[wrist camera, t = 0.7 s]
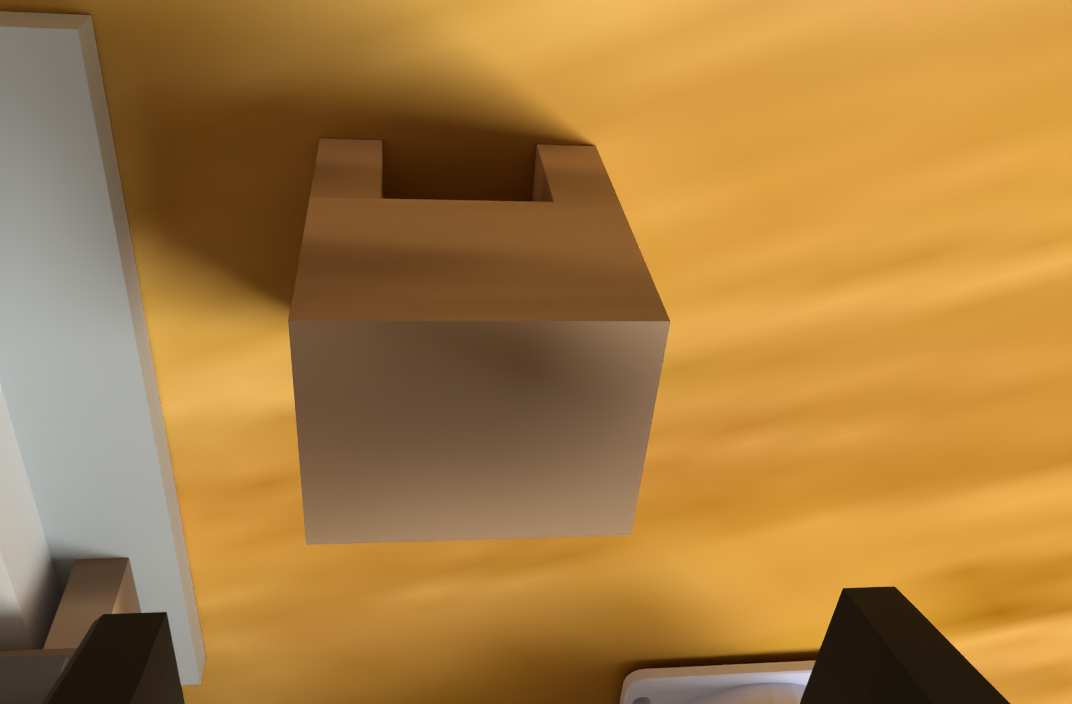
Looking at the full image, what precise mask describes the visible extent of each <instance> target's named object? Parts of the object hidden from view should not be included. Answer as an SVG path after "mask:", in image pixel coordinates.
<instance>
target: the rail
mask: <svg viewBox="0 0 1072 704" xmlns="http://www.w3.org/2000/svg"><path fill="white" fill-rule="evenodd" d="M100 558H129V560H130V564H131V569H132V573H133V577H134V582H135V586H136V591H137V595H138V600H139V604H140V608H141V613H150V612H167V616H168V621H169V626H170V631H171V636H172V642H173V647H174V652H175V657H176V662H177V667H178V672H179V677H180V682H181V686H182V685H201V680H202V675H203V670H204V665H205V659H206V656H205V651H204V645H203V639H202V634H201V628H200V622H199V617H198V611H197V606H196V600H195V594H194V589H193V583H192V578H191V572H190V566H189V561H188V555H187V550H186V544H185V538H184V533H183V527H182V522H181V516H180V510H179V505H178V499H177V493H176V488H175V482H174V477H173V471H172V465H171V460H170V454H169V449H168V443H167V437H166V432H165V426H164V421H163V415H162V409H161V404H160V398H159V392H158V387H157V381H156V376H155V370H154V364H153V359H152V353H151V348H150V342H149V336H148V331H147V325H146V320H145V314H144V308H143V303H142V297H141V292H140V286H139V280H138V275H137V269H136V263H135V258H134V252H133V247H132V241H131V235H130V230H129V224H128V219H127V213H126V207H125V202H124V196H123V191H122V185H121V179H120V174H119V168H118V162H117V157H116V151H115V146H114V140H113V134H112V129H111V123H110V118H109V112H108V106H107V101H106V95H105V90H104V84H103V78H102V73H101V67H100V62H99V56H98V50H97V45H96V39H95V33H94V28H93V22H92V17H91V15H78V14H55V13H32V12H9V11H0V651H14V650H38V649H43V648H44V645H45V642H46V640H47V637H48V634H49V632H50V629H51V626H52V623H53V621H54V618H55V615H56V612H57V610H58V607H59V604H60V602H61V599H62V596H63V593H64V591H65V588H66V585H67V582H68V580H69V577H70V574H71V572H72V569H73V566H74V563H75V561H76V559H100Z"/></svg>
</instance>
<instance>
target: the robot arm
mask: <svg viewBox="0 0 1072 704" xmlns="http://www.w3.org/2000/svg"><path fill="white" fill-rule="evenodd" d="M42 704H185V703H184V698H183V692H182V687H181V682H180V677H179V672H178V667H177V662H176V657H175V652H174V647H173V642H172V636H171V631H170V626H169V621H168V616H167V612H150V613H121V614H103V615H102V616H100V617H99V618H98V619H97V620H95V621H94V622H93V623H92V625H91V627H90V628H89V630H88V632H87V633H86V635H85V637H84V638H83V640H82V641H81V643H80V645H79V646H78V648H77V650H76V651H75V653H74V654H73V656H72V657H71V659H70V661H69V662H68V664H67V665H66V667H65V668H64V670H63V672H62V673H61V675H60V676H59V678H58V679H57V681H56V682H55V684H54V686H53V687H52V689H51V690H50V692H49V693H48V695H47V696H46V698H45V699H44V701H43V702H42ZM619 704H1010V703H1009V702H1008V701H1007V700H1006V699H1005V698H1004V697H1003V696H1002V695H1001V694H1000V693H999V692H998V691H997V690H996V689H995V688H994V687H993V686H992V685H991V684H990V683H989V682H988V681H987V680H986V679H985V678H984V677H983V676H982V675H981V674H980V673H979V672H978V671H977V670H976V669H975V668H974V667H973V666H972V665H971V664H970V663H969V662H968V660H967V659H966V658H965V657H964V656H963V655H962V654H961V653H960V652H959V651H958V650H957V649H956V648H955V647H954V646H953V645H952V644H951V643H950V642H949V641H948V640H947V639H946V638H945V637H944V636H943V635H942V634H941V633H940V632H939V631H938V630H937V629H936V628H935V627H934V626H933V625H932V624H931V623H930V622H929V621H928V620H927V619H926V617H925V616H924V615H923V614H922V613H921V612H920V611H919V610H918V609H917V608H916V607H915V606H914V605H913V604H912V603H911V602H910V601H909V600H908V599H907V598H906V597H905V596H904V595H903V594H902V593H901V592H900V591H899V590H898V589H897V588H896V587H868V588H843V590H842V592H841V595H840V598H839V600H838V603H837V606H836V608H835V611H834V614H833V616H832V619H831V622H830V624H829V627H828V630H827V632H826V635H825V638H824V640H823V643H822V645H821V648H820V651H819V653H818V656H817V659H816V660H812V661H792V662H772V663H752V664H732V665H712V666H692V667H671V668H651V669H640V670H636V671H634V672H631V673H630V674H629V675H628V676H627V677H626V678H625V680H624V683H623V687H622V692H621V697H620V702H619Z"/></svg>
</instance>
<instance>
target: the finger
mask: <svg viewBox="0 0 1072 704" xmlns="http://www.w3.org/2000/svg"><path fill="white" fill-rule="evenodd" d="M121 613H141V608H140V604H139V600H138V595H137V591H136V586H135V582H134V577H133V573H132V569H131V564H130V560H129V558H100V559H76V561H75V563H74V566H73V569H72V572H71V574H70V577H69V580H68V582H67V585H66V588H65V591H64V593H63V596H62V599H61V602H60V604H59V607H58V610H57V612H56V615H55V618H54V621H53V623H52V626H51V629H50V632H49V634H48V637H47V640H46V642H45V645H44V648H43V649H38V650H14V651H0V704H42V702H43V701H44V699H45V698H46V696H47V695H48V693H49V692H50V690H51V689H52V687H53V686H54V684H55V682H56V681H57V679H58V678H59V676H60V675H61V673H62V672H63V670H64V668H65V667H66V665H67V664H68V662H69V661H70V659H71V657H72V656H73V654H74V653H75V651H76V650H77V648H78V646H79V645H80V643H81V641H82V640H83V638H84V637H85V635H86V633H87V632H88V630H89V628H90V627H91V625H92V623H93V622H94V621H95V620H97V619H98V618H99V617H100V616H102V615H103V614H121Z"/></svg>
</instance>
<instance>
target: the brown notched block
mask: <svg viewBox="0 0 1072 704" xmlns="http://www.w3.org/2000/svg"><path fill="white" fill-rule="evenodd" d="M288 322H289V335H290V347H291V360H292V372H293V385H294V397H295V410H296V422H297V435H298V448H299V460H300V473H301V485H302V498H303V510H304V523H305V535H306V545H313V544H346V543H379V542H413V541H446V540H480V539H513V538H546V537H580V536H613V535H631V532H632V526H633V521H634V515H635V510H636V504H637V499H638V494H639V488H640V483H641V477H642V472H643V466H644V461H645V456H646V450H647V445H648V439H649V434H650V428H651V423H652V418H653V412H654V407H655V401H656V396H657V390H658V385H659V380H660V374H661V369H662V363H663V358H664V352H665V347H666V342H667V336H668V331H669V325H670V320H669V317H668V315H667V313H666V310H665V308H664V306H663V303H662V301H661V299H660V296H659V294H658V292H657V289H656V287H655V284H654V282H653V280H652V277H651V275H650V273H649V270H648V268H647V266H646V263H645V261H644V259H643V256H642V254H641V252H640V249H639V247H638V244H637V242H636V240H635V237H634V235H633V233H632V230H631V228H630V226H629V223H628V221H627V219H626V216H625V214H624V211H623V209H622V207H621V204H620V202H619V200H618V197H617V195H616V193H615V190H614V188H613V186H612V183H611V181H610V179H609V176H608V174H607V171H606V169H605V167H604V164H603V162H602V160H601V157H600V155H599V153H598V150H597V148H596V146H579V145H542V144H537V148H536V160H535V173H534V185H533V197H532V202H531V201H479V200H427V199H383V156H382V140H361V139H324V138H320V139H319V145H318V151H317V157H316V163H315V168H314V174H313V180H312V186H311V192H310V198H309V203H308V209H307V215H306V221H305V227H304V233H303V238H302V244H301V250H300V256H299V262H298V268H297V273H296V279H295V285H294V291H293V297H292V303H291V308H290V314H289V320H288Z"/></svg>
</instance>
